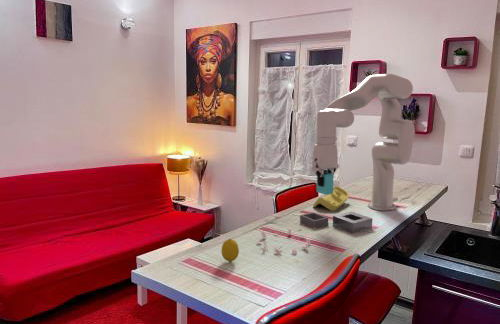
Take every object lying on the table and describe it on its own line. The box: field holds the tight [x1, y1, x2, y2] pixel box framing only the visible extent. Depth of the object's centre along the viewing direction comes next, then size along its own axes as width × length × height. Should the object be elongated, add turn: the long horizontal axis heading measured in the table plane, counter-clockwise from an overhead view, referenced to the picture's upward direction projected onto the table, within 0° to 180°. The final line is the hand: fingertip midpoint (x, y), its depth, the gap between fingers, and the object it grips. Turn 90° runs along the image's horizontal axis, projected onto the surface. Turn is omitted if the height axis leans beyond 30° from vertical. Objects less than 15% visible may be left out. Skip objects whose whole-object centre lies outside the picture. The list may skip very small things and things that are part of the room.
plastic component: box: [312, 185, 350, 212], centre depth 183 cm, size 20×8×10 cm
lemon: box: [221, 238, 240, 263], centre depth 119 cm, size 6×6×8 cm
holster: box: [299, 211, 329, 229], centre depth 156 cm, size 8×9×3 cm
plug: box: [316, 169, 335, 196], centre depth 152 cm, size 4×6×10 cm
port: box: [332, 211, 373, 234], centre depth 152 cm, size 11×11×4 cm
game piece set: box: [256, 227, 311, 255], centre depth 134 cm, size 19×20×4 cm
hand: (325, 184), depth 152 cm, fingers closed on plug, 4 cm apart
